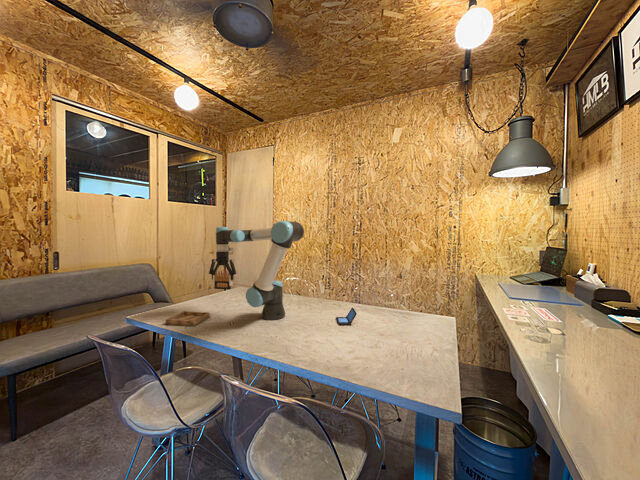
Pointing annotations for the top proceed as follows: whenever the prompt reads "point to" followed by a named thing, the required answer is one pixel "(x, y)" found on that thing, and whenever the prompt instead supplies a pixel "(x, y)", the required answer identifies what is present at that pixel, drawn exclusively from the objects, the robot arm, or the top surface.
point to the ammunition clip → (222, 280)
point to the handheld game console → (347, 318)
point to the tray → (188, 318)
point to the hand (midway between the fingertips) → (222, 285)
